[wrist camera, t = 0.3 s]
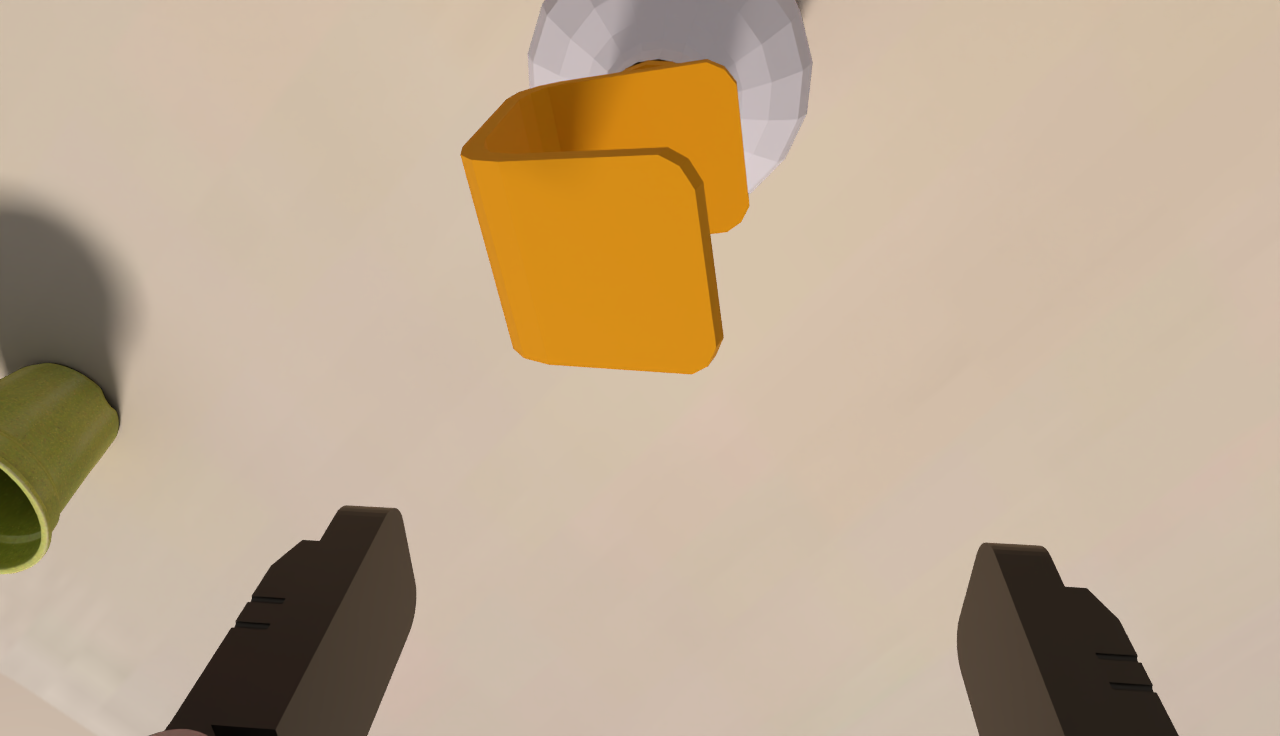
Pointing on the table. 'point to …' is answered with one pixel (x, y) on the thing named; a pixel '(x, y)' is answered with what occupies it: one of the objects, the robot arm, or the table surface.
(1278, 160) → the table surface
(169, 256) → the table surface
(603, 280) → the soap bottle
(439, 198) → the table surface
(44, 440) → the plant pot
